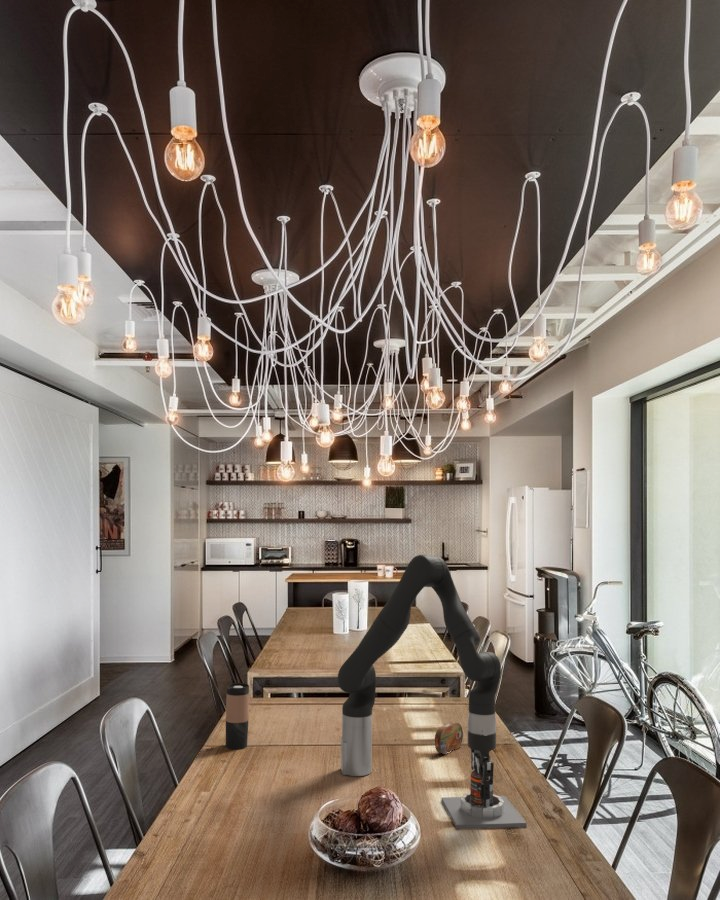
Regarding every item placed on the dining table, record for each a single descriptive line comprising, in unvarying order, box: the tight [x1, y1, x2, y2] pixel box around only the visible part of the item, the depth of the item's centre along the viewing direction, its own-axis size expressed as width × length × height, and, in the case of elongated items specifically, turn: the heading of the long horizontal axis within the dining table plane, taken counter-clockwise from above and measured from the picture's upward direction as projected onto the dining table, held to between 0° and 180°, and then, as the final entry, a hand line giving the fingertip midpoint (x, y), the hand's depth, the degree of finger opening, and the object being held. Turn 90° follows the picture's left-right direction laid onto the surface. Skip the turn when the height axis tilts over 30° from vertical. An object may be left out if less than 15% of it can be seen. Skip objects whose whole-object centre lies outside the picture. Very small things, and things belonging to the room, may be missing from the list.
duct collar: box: [460, 792, 504, 818], centre depth 193 cm, size 11×11×2 cm
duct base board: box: [440, 795, 528, 830], centre depth 193 cm, size 18×18×1 cm
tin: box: [434, 722, 464, 755], centre depth 245 cm, size 15×3×8 cm, turn 143°
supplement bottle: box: [469, 763, 494, 807], centre depth 193 cm, size 6×6×11 cm
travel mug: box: [225, 682, 250, 750], centre depth 247 cm, size 8×8×20 cm
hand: (481, 794), depth 193 cm, fingers closed on supplement bottle, 6 cm apart
